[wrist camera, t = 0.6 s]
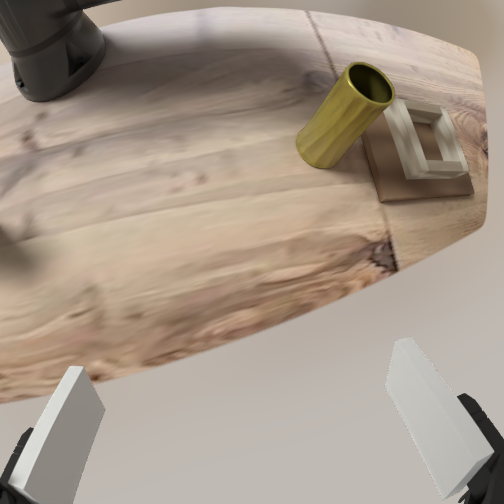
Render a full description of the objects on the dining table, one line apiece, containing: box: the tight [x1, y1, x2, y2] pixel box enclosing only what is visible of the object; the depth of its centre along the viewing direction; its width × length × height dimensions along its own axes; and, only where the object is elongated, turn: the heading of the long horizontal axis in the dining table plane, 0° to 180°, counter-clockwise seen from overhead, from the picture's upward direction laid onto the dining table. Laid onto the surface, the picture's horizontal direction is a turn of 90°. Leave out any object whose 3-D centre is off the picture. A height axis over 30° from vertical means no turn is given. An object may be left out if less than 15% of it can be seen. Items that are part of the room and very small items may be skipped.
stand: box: [361, 98, 474, 202], centre depth 37 cm, size 16×20×5 cm
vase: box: [296, 62, 395, 168], centre depth 30 cm, size 6×6×14 cm
